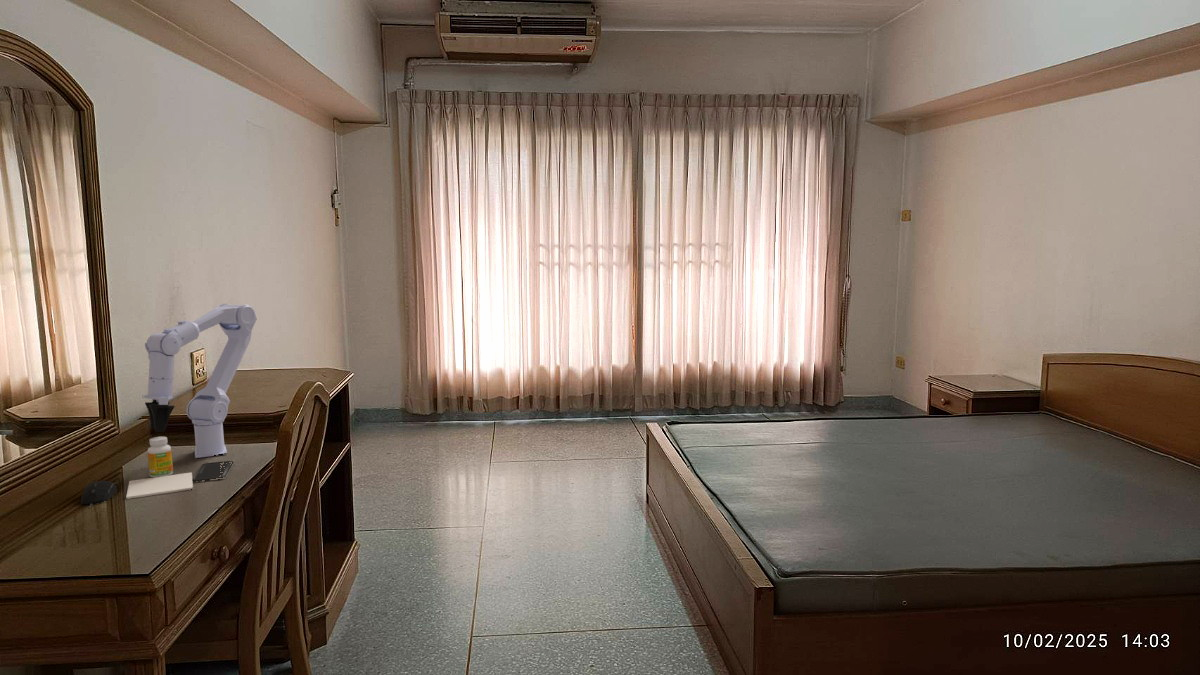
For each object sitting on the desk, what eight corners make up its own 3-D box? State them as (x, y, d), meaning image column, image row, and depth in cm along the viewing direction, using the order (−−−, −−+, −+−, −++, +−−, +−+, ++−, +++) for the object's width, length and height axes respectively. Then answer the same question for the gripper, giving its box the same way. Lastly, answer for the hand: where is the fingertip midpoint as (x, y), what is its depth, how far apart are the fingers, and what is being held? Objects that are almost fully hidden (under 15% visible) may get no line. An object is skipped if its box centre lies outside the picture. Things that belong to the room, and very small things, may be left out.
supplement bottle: (157, 479, 203) (153, 442, 202) (145, 476, 206) (141, 439, 204) (177, 473, 207) (174, 437, 206) (166, 470, 210) (162, 434, 209)
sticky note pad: (129, 482, 200) (129, 480, 200) (192, 474, 207) (191, 472, 207) (126, 499, 188) (126, 497, 188) (192, 489, 194) (192, 487, 194)
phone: (234, 460, 216) (225, 476, 202) (234, 464, 216) (225, 480, 202) (202, 463, 214) (190, 479, 200) (202, 467, 214) (191, 484, 200)
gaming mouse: (72, 512, 181) (70, 495, 180) (90, 492, 195) (88, 476, 194) (104, 508, 183) (102, 492, 182) (119, 489, 197) (118, 473, 196)
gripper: (140, 376, 214) (137, 427, 214) (147, 379, 202) (144, 433, 202) (169, 377, 218) (167, 427, 218) (178, 380, 206) (175, 432, 206)
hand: (158, 430), depth 210 cm, fingers open, 7 cm apart
